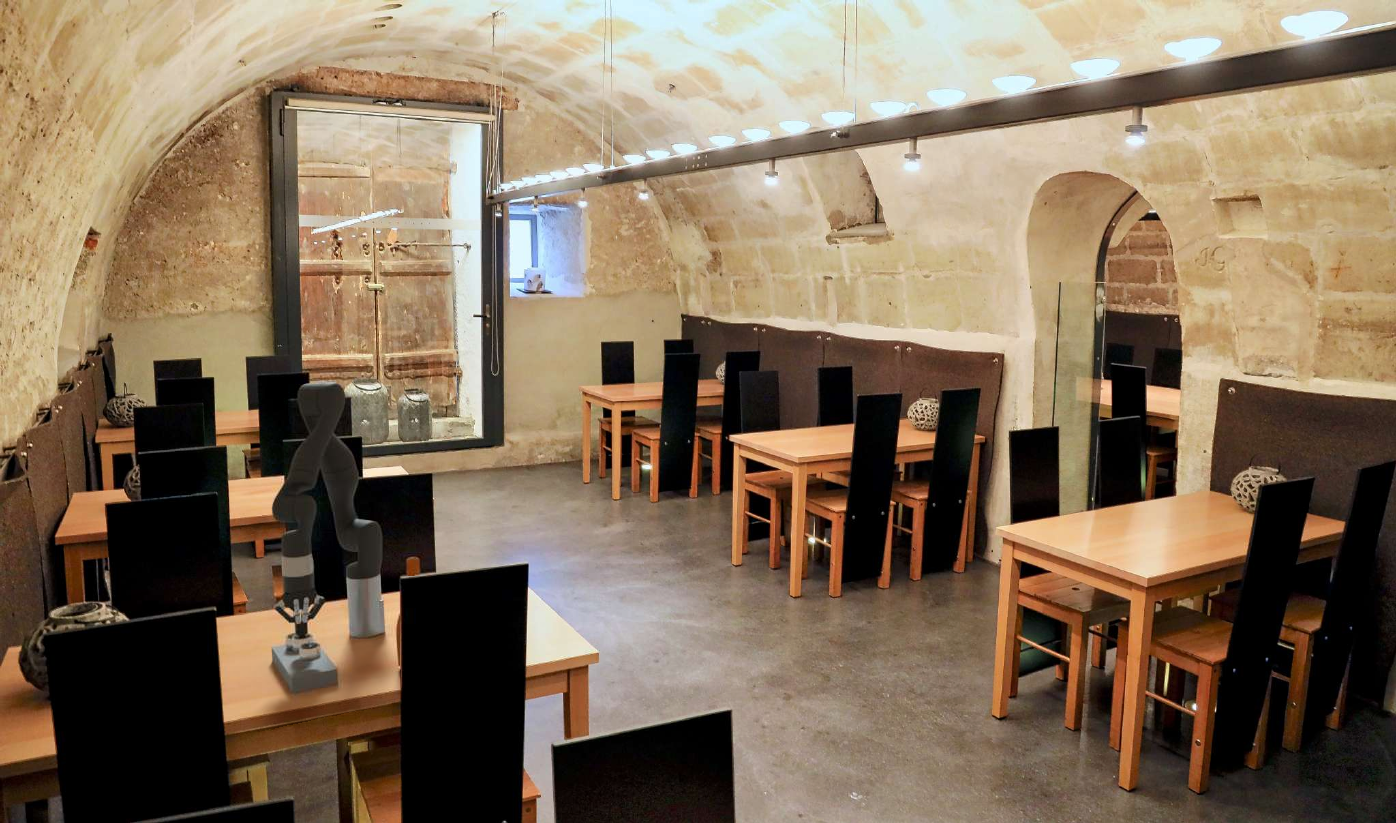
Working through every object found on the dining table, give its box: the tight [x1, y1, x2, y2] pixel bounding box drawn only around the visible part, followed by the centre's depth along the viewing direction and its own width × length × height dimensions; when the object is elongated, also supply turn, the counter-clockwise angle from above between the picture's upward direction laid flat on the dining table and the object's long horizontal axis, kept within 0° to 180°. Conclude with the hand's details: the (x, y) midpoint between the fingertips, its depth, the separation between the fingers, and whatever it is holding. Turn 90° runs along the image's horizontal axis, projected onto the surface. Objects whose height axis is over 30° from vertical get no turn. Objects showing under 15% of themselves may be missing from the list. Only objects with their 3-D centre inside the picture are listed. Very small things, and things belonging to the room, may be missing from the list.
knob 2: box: [292, 632, 314, 651], centre depth 266 cm, size 5×5×3 cm
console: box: [271, 638, 339, 695], centre depth 267 cm, size 11×25×4 cm, turn 33°
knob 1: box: [285, 632, 296, 650], centre depth 274 cm, size 5×5×3 cm
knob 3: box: [299, 642, 322, 662], centre depth 259 cm, size 5×5×3 cm
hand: (301, 636), depth 266 cm, fingers closed
